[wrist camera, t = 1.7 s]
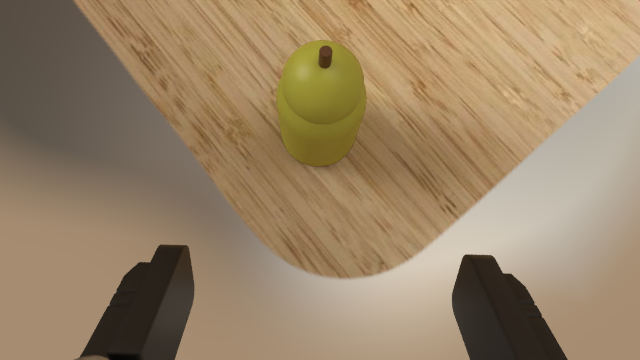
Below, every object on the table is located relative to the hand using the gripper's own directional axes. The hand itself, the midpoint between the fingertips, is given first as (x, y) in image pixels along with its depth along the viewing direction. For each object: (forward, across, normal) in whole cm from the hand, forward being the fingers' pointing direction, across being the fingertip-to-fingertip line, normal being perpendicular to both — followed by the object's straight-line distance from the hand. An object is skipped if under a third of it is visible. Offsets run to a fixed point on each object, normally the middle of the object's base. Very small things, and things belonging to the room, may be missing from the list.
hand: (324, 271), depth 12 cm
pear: (+17, 0, +3) cm, 17 cm away
